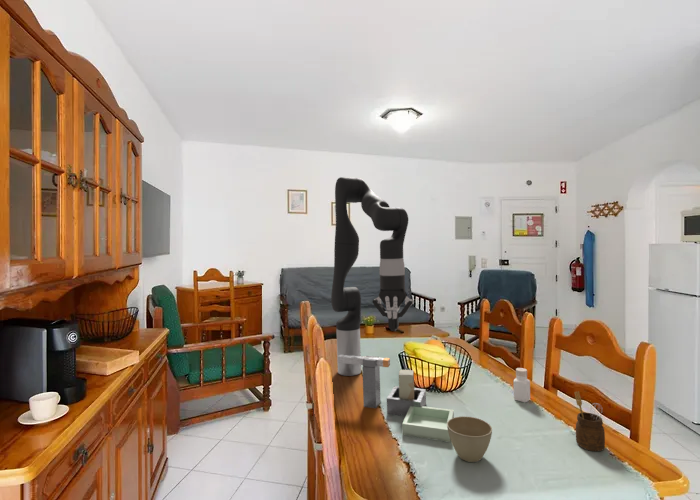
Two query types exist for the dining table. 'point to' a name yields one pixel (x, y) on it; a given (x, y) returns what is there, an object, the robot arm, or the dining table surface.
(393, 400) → the collar
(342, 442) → the dining table surface
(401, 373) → the box
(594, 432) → the utensil holder
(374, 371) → the post
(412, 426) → the tray
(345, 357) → the bar
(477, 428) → the flower pot
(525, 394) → the white pill bottle
